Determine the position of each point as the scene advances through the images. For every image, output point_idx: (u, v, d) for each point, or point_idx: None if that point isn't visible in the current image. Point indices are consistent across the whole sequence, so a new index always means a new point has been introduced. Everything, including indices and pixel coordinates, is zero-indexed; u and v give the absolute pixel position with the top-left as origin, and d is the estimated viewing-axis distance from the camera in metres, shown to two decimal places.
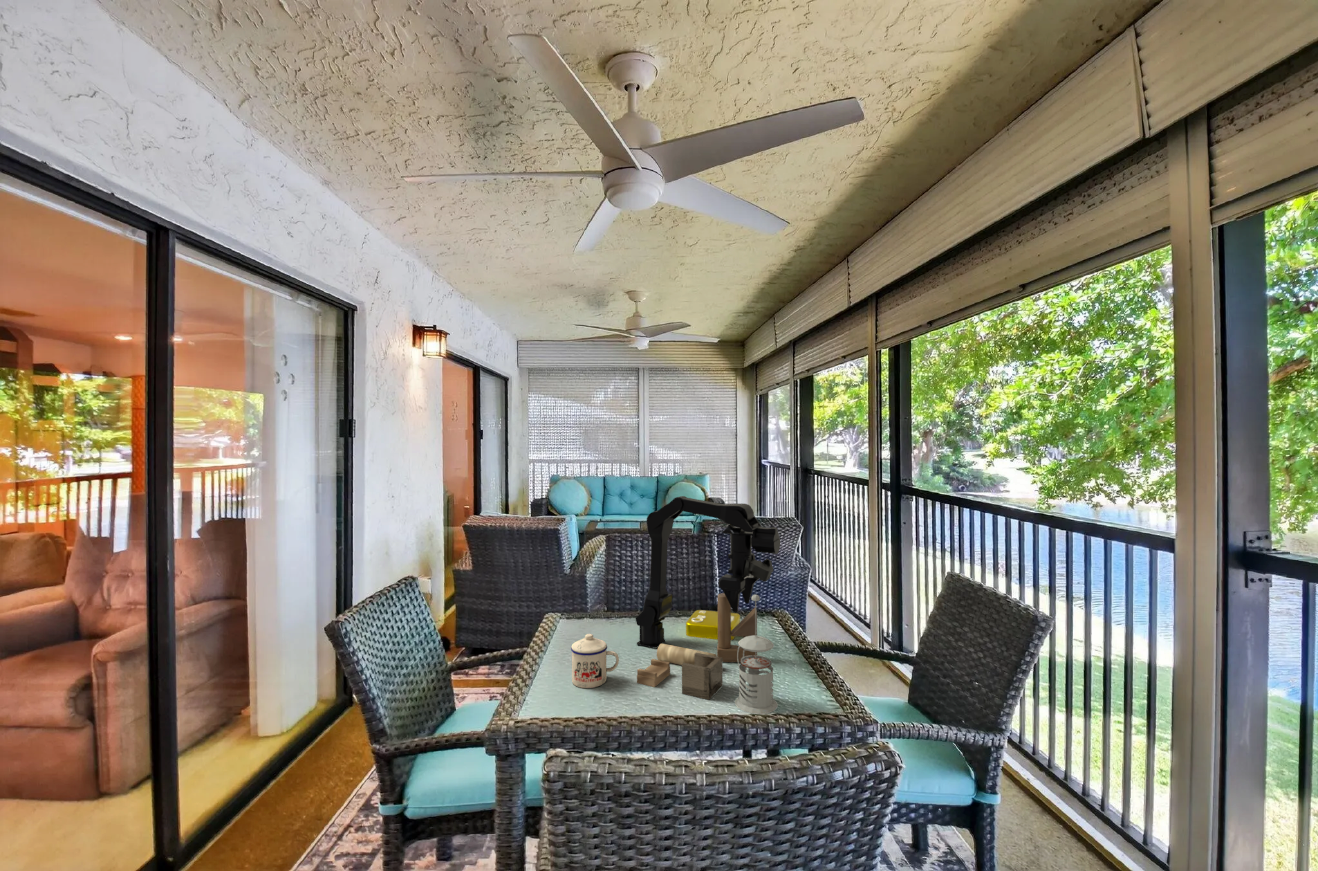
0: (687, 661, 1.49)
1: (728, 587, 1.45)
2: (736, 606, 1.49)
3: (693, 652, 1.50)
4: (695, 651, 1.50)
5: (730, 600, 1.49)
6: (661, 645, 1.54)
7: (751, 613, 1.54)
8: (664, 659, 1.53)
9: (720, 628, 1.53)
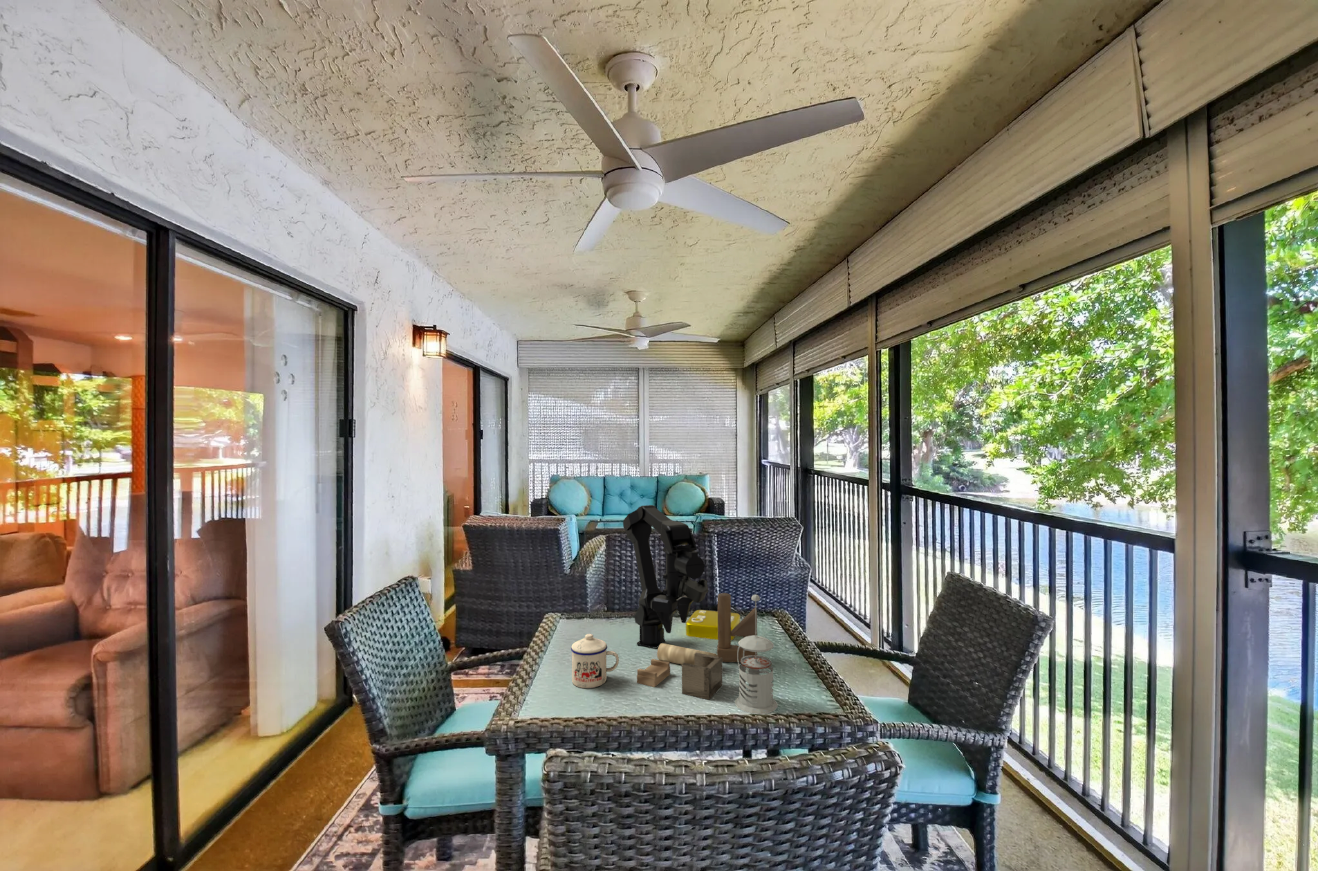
0: (687, 660, 1.49)
1: (659, 608, 1.45)
2: (669, 627, 1.48)
3: (694, 651, 1.50)
4: (696, 650, 1.50)
5: (663, 621, 1.48)
6: (662, 644, 1.55)
7: (751, 613, 1.54)
8: (664, 658, 1.53)
9: (720, 628, 1.53)
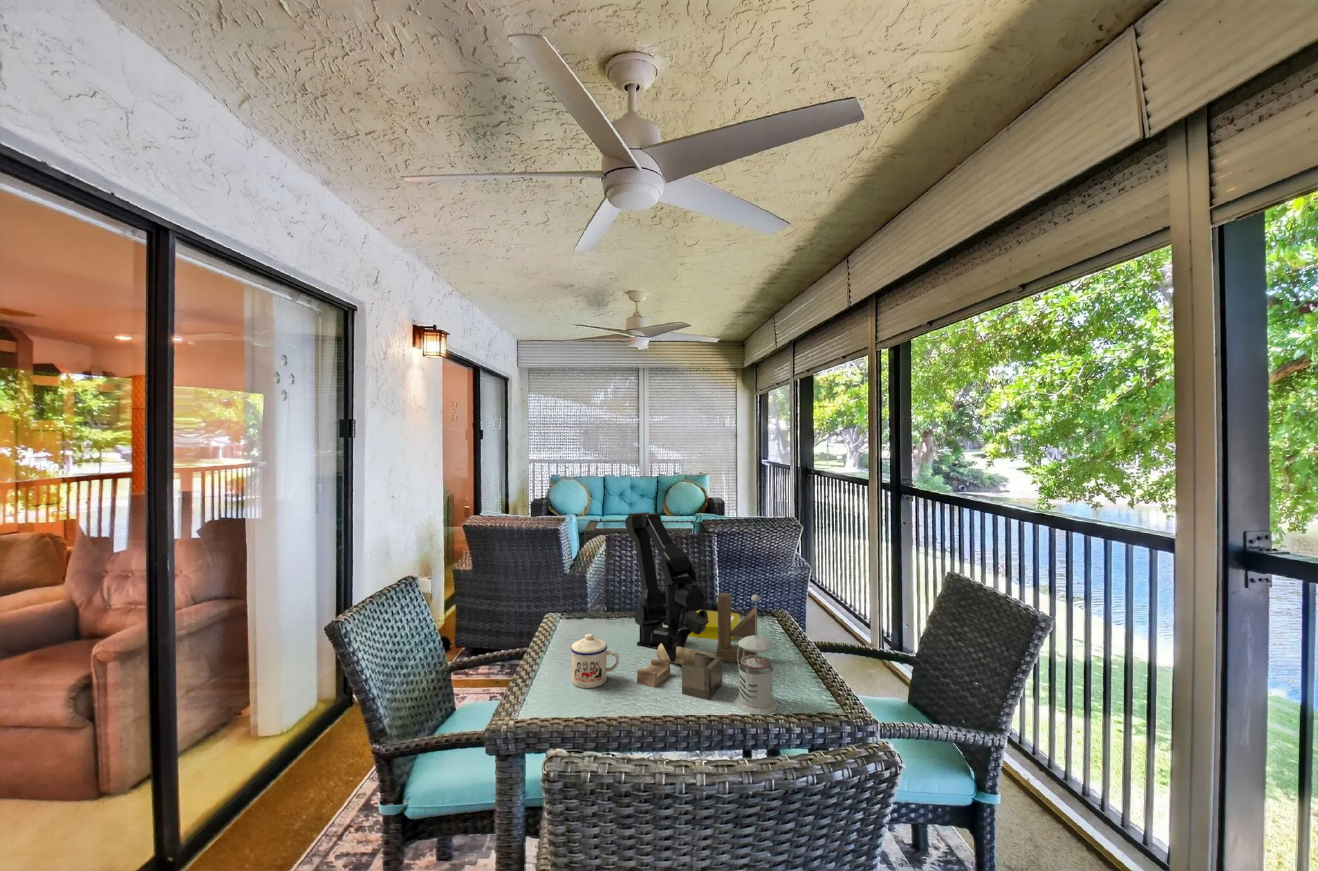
0: (687, 661, 1.49)
1: (660, 641, 1.45)
2: (673, 656, 1.50)
3: (693, 652, 1.50)
4: (695, 651, 1.50)
5: (667, 650, 1.50)
6: (661, 645, 1.55)
7: (751, 613, 1.54)
8: (664, 659, 1.53)
9: (720, 628, 1.53)
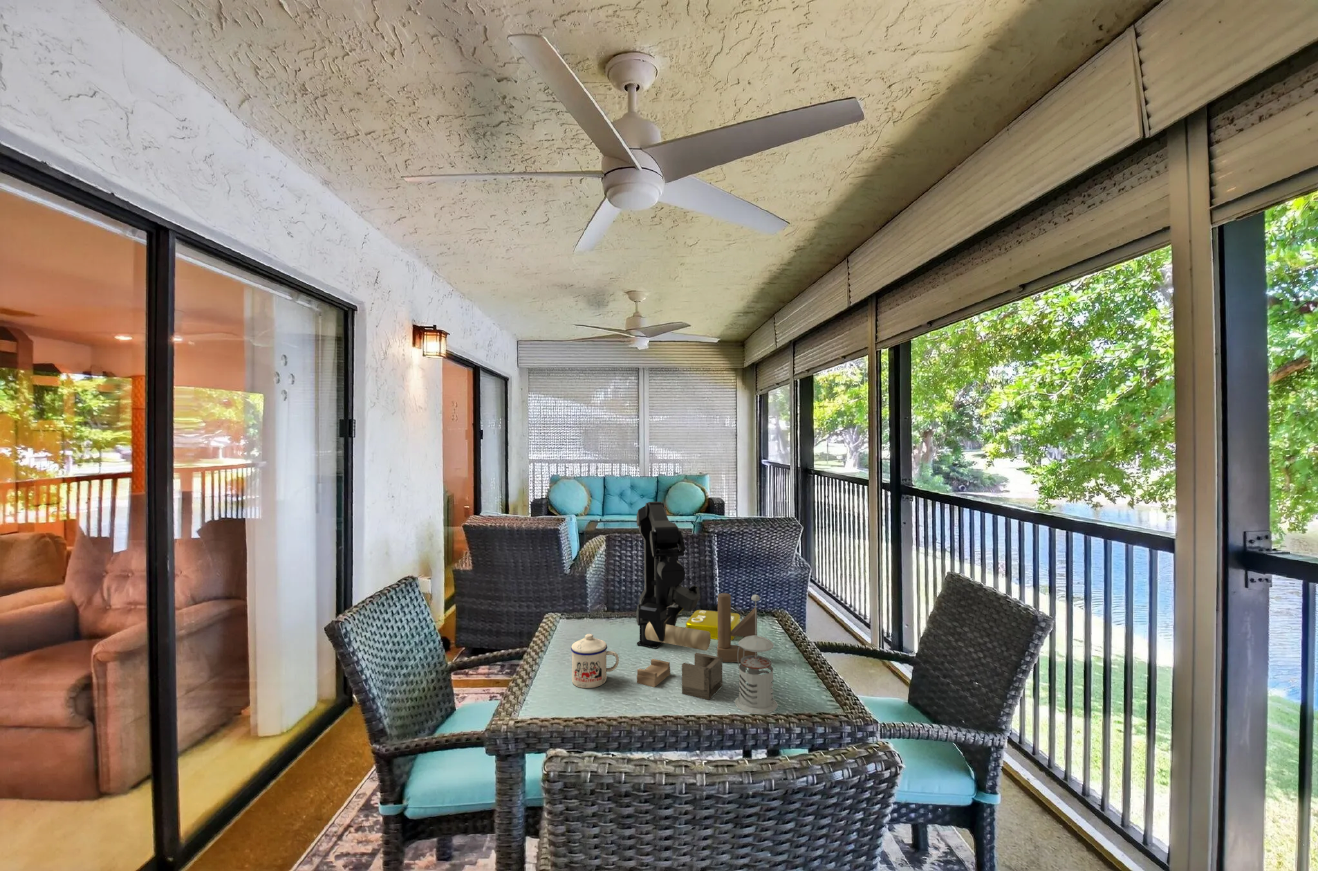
0: (678, 639, 1.37)
1: (647, 618, 1.33)
2: (662, 635, 1.38)
3: (684, 630, 1.38)
4: (686, 629, 1.38)
5: (656, 628, 1.38)
6: (650, 623, 1.43)
7: (751, 613, 1.54)
8: (653, 638, 1.41)
9: (720, 628, 1.53)
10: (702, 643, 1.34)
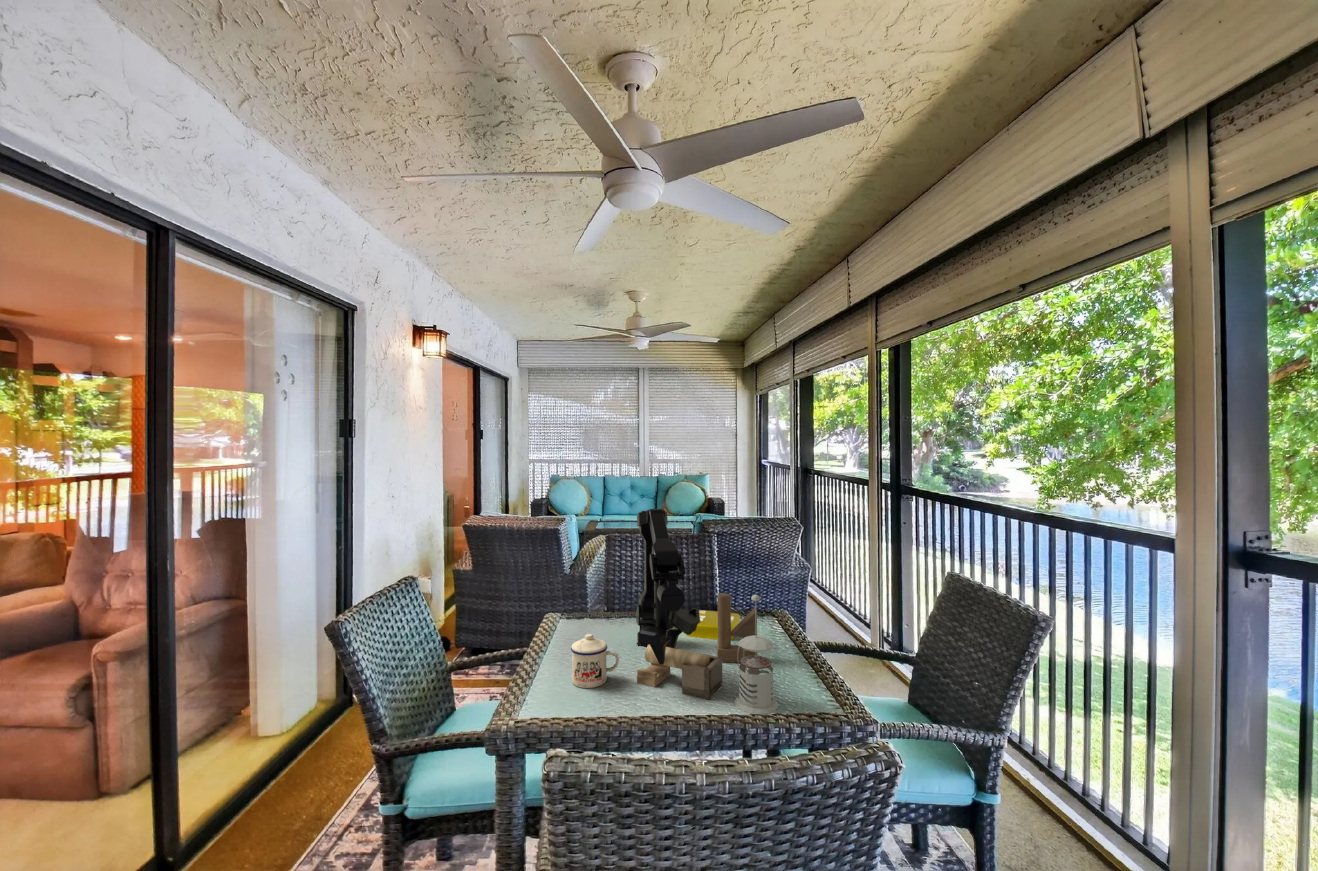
0: (677, 663, 1.37)
1: (647, 642, 1.33)
2: (662, 658, 1.38)
3: (684, 653, 1.38)
4: (686, 652, 1.38)
5: (655, 651, 1.38)
6: None
7: (751, 613, 1.54)
8: (652, 661, 1.41)
9: (720, 628, 1.53)
10: None
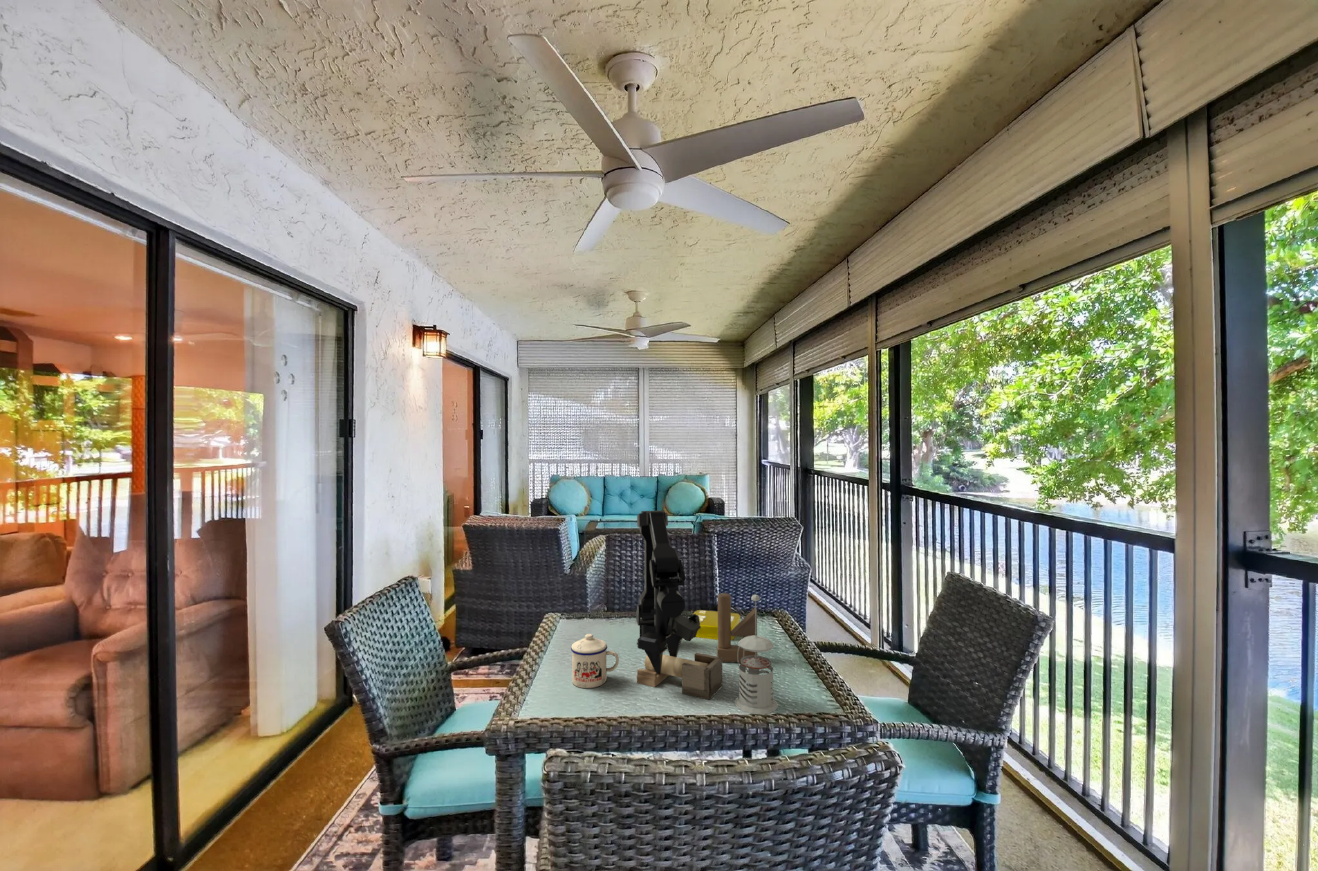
0: (677, 671, 1.37)
1: (647, 648, 1.33)
2: (658, 667, 1.37)
3: (684, 661, 1.38)
4: (686, 660, 1.38)
5: (652, 660, 1.37)
6: None
7: (751, 613, 1.54)
8: (652, 669, 1.41)
9: (720, 628, 1.53)
10: None
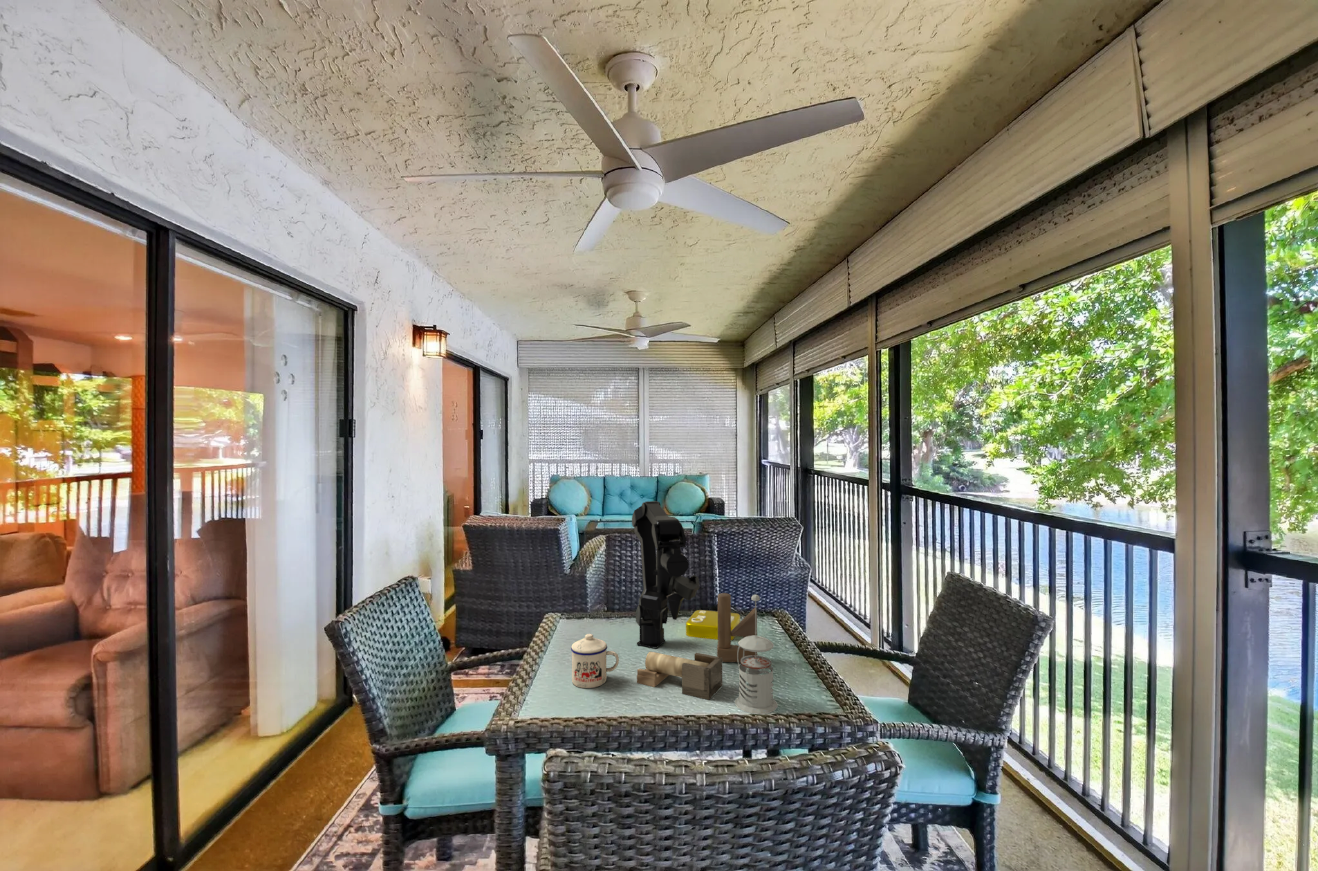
0: (678, 670, 1.37)
1: (649, 606, 1.41)
2: (659, 624, 1.44)
3: (685, 660, 1.38)
4: (687, 660, 1.38)
5: (653, 618, 1.45)
6: (650, 653, 1.43)
7: (751, 613, 1.54)
8: (652, 668, 1.41)
9: (720, 628, 1.53)
10: None
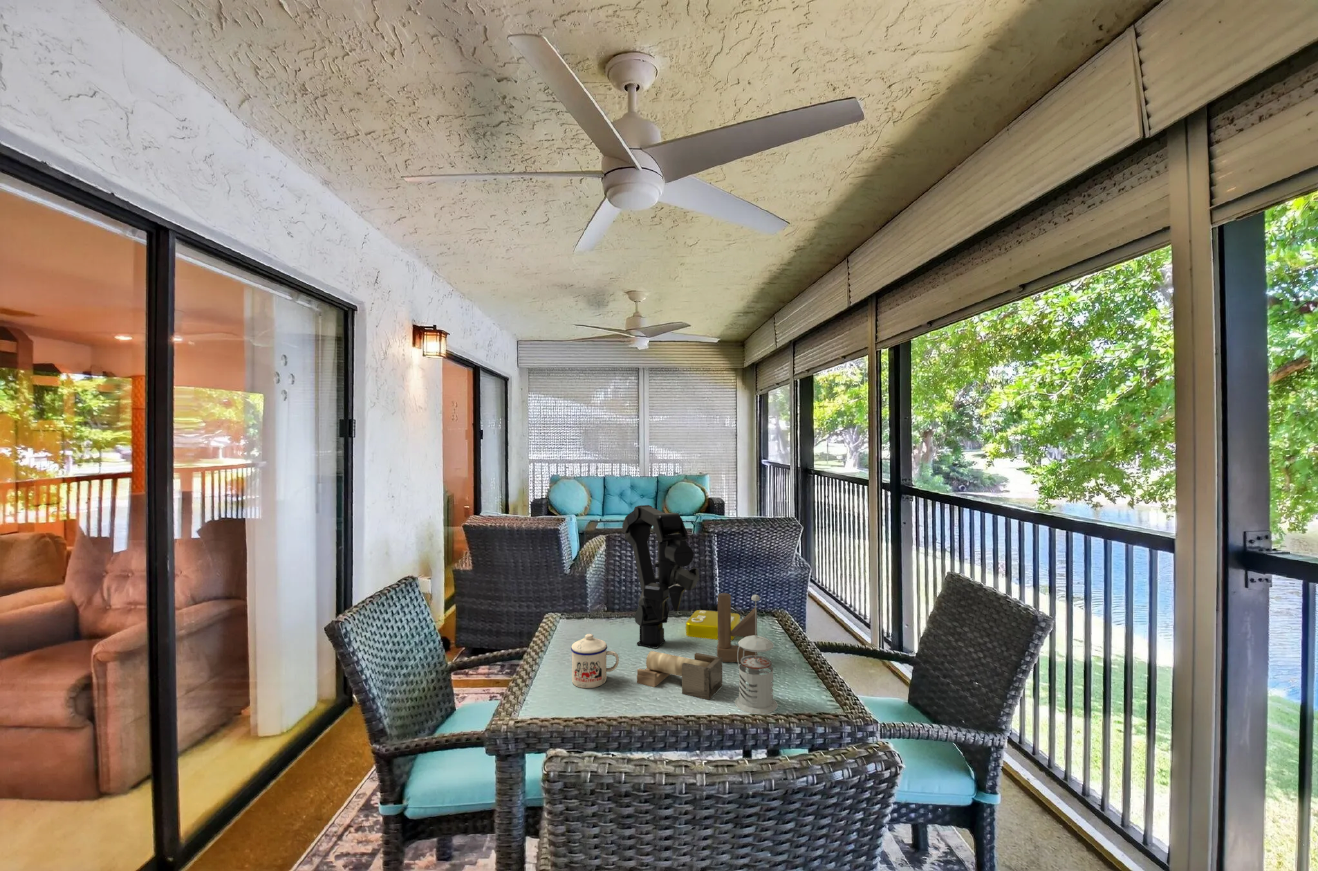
0: (679, 667, 1.38)
1: (651, 596, 1.47)
2: (661, 614, 1.50)
3: (686, 659, 1.39)
4: None
5: (655, 608, 1.51)
6: (652, 651, 1.44)
7: (751, 613, 1.54)
8: (653, 666, 1.41)
9: (720, 628, 1.53)
10: None
